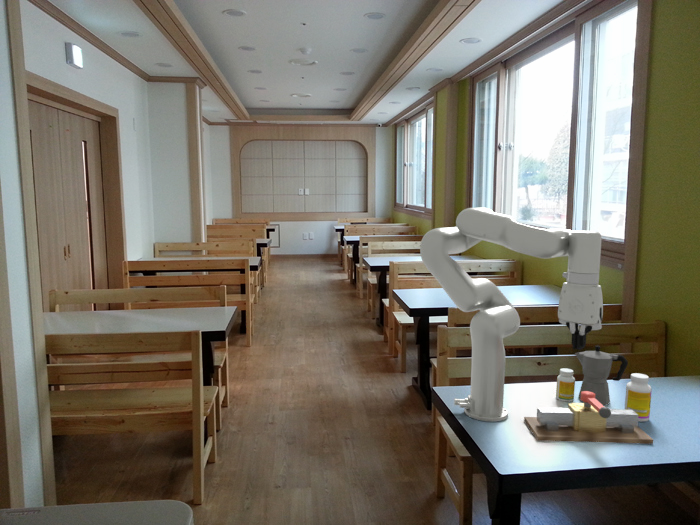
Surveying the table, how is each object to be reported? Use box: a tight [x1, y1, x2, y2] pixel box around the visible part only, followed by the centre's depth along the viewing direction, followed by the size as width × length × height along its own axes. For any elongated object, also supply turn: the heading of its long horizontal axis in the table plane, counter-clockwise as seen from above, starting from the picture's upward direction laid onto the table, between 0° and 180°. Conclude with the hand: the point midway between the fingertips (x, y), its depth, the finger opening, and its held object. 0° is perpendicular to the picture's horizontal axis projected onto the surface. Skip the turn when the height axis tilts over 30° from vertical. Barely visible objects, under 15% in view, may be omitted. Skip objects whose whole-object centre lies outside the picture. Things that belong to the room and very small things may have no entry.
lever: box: [580, 391, 611, 418], centre depth 146 cm, size 14×4×4 cm, turn 178°
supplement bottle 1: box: [555, 367, 576, 403], centre depth 176 cm, size 5×5×10 cm
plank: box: [523, 416, 654, 445], centre depth 152 cm, size 30×13×1 cm, turn 88°
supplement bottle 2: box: [623, 372, 652, 423], centre depth 162 cm, size 7×7×13 cm
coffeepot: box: [574, 345, 629, 406], centre depth 174 cm, size 15×9×18 cm, turn 68°
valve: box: [536, 402, 639, 434], centre depth 152 cm, size 26×6×6 cm, turn 88°
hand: (578, 348), depth 144 cm, fingers closed
